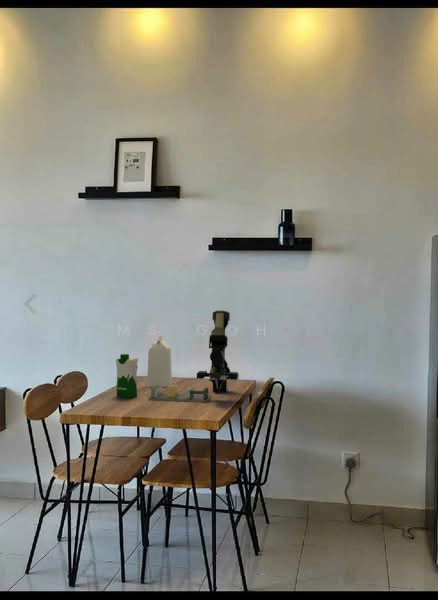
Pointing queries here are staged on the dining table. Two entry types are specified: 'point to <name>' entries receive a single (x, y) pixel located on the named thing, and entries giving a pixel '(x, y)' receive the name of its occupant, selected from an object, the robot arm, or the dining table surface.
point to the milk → (159, 364)
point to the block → (172, 391)
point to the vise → (158, 395)
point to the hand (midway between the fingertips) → (217, 394)
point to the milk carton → (126, 376)
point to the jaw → (195, 392)
